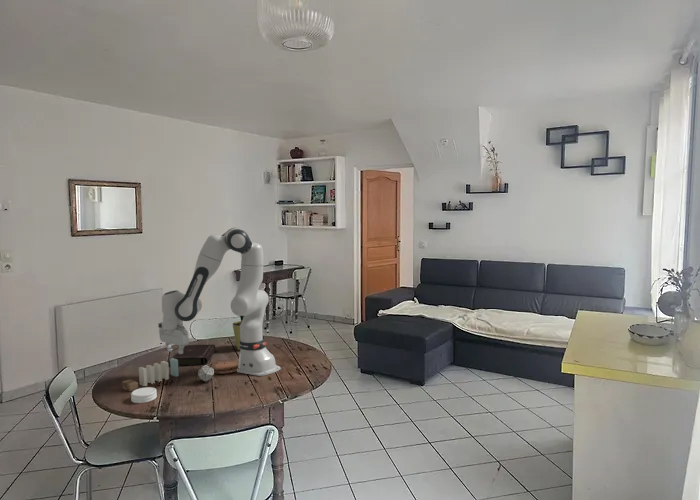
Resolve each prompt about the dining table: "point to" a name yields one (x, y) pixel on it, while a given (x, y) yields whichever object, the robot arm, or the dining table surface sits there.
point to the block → (130, 385)
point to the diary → (195, 354)
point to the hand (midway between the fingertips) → (175, 352)
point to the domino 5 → (174, 367)
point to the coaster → (143, 395)
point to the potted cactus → (237, 331)
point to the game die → (205, 373)
